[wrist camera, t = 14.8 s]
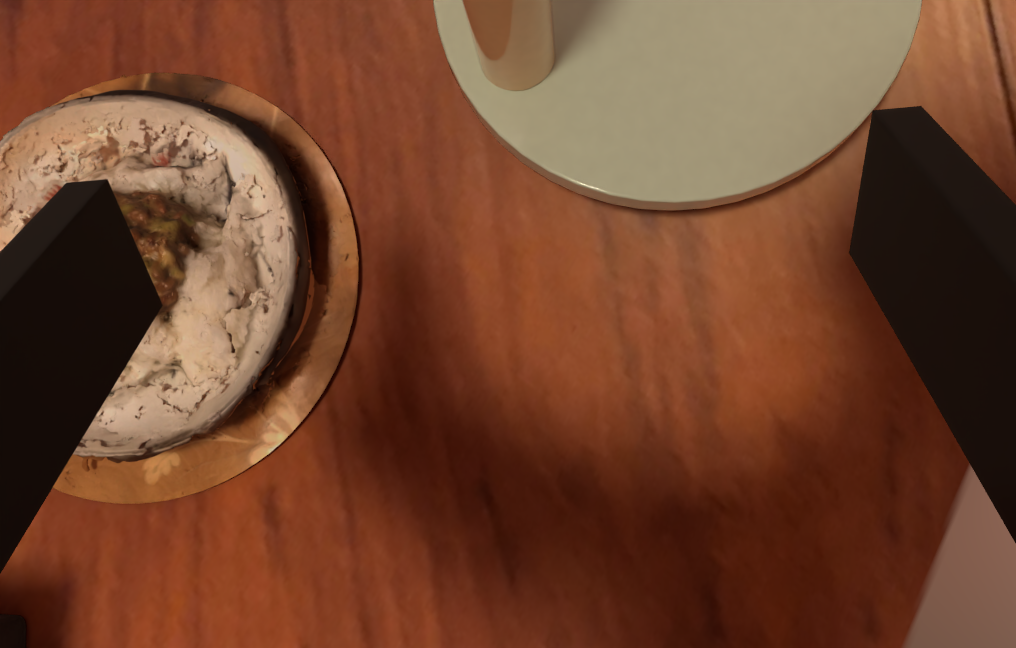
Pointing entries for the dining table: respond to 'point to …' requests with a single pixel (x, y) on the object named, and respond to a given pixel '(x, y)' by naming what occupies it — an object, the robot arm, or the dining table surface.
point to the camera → (12, 631)
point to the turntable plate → (674, 88)
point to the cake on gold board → (199, 273)
